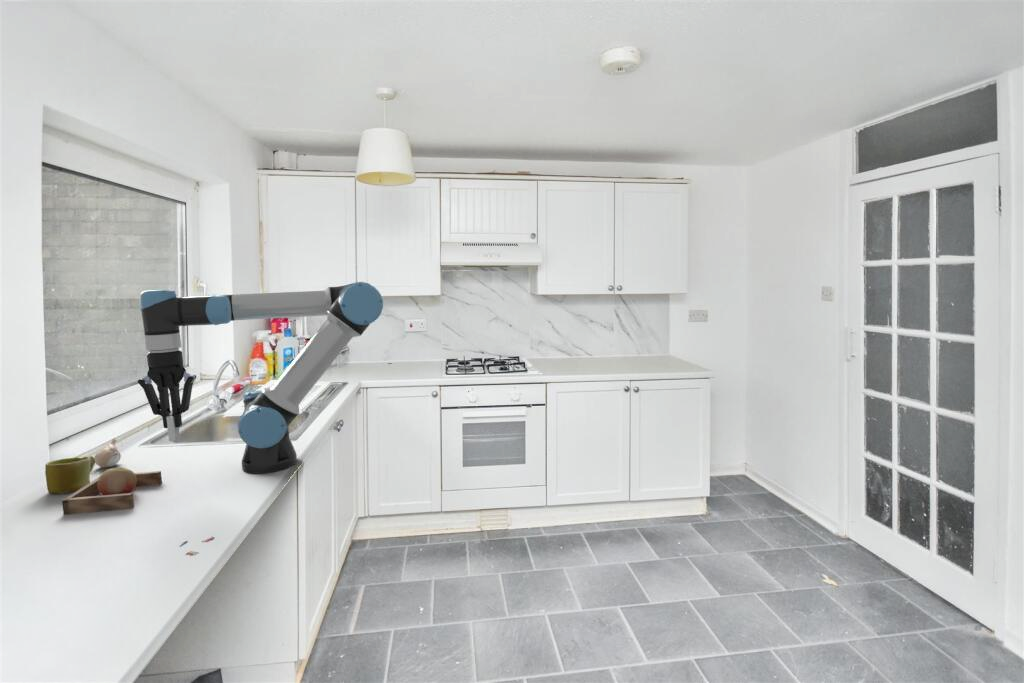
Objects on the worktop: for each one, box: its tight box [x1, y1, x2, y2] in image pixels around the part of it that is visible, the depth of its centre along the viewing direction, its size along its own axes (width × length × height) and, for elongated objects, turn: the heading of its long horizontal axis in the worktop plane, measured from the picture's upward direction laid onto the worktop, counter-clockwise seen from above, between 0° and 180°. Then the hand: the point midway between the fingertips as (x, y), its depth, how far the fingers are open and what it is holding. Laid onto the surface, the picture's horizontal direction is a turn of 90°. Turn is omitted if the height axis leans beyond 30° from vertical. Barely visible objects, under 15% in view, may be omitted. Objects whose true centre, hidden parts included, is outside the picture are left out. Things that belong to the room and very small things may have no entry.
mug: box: [44, 455, 96, 495], centre depth 138 cm, size 12×10×10 cm
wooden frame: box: [61, 470, 163, 515], centre depth 132 cm, size 14×16×4 cm
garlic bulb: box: [93, 437, 122, 469], centre depth 154 cm, size 7×6×8 cm
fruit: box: [97, 466, 137, 495], centre depth 132 cm, size 8×8×8 cm
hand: (174, 439), depth 133 cm, fingers closed
